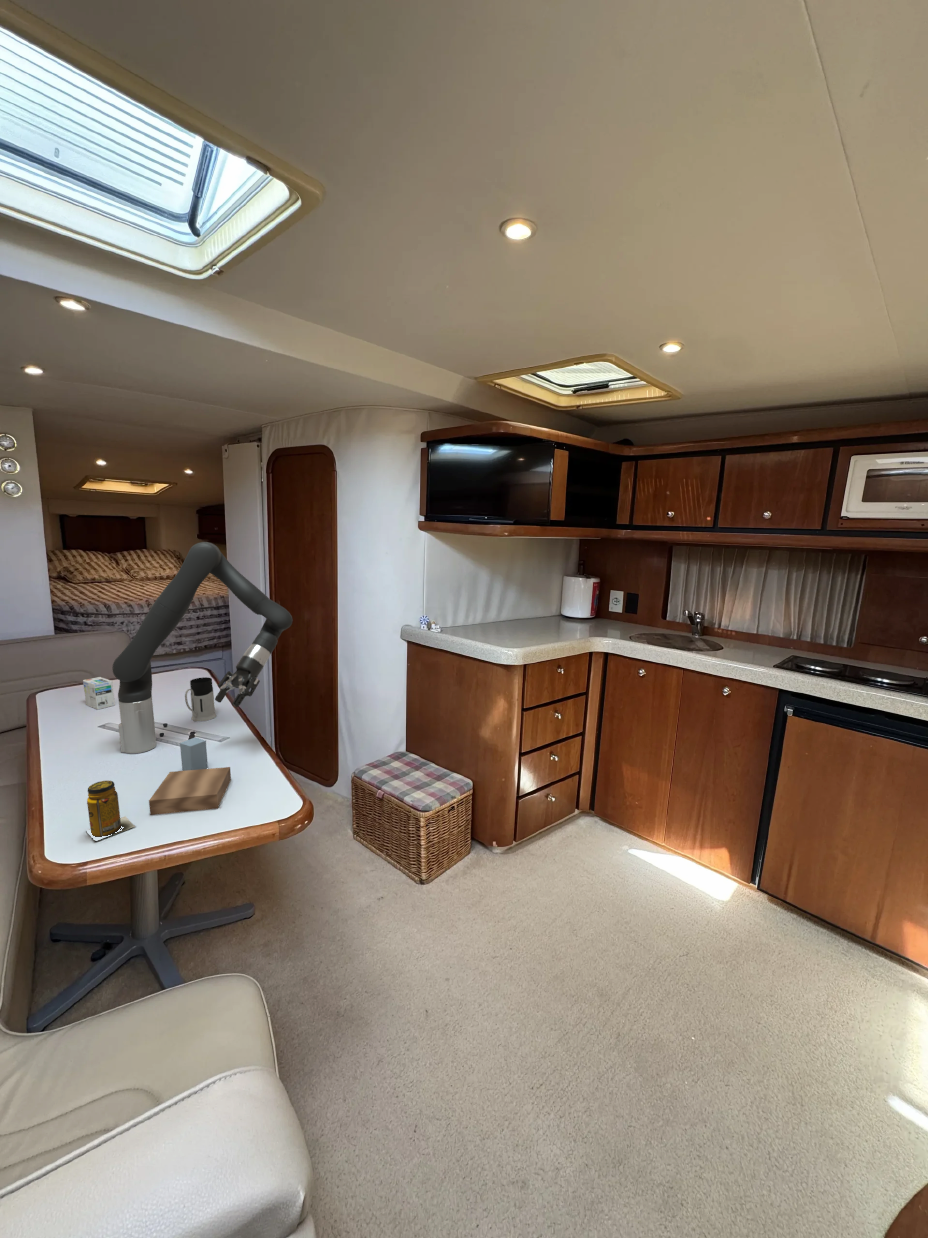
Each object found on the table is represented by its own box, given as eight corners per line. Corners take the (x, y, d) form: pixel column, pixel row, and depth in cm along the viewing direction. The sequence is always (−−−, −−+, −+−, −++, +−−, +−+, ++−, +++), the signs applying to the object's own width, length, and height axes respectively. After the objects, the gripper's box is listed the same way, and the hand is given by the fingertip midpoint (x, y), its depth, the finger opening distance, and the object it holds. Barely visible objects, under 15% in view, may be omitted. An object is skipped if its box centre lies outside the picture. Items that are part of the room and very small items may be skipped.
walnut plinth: (150, 815, 131) (148, 800, 130) (171, 785, 146) (169, 771, 146) (217, 808, 134) (216, 794, 134) (231, 779, 150) (230, 767, 149)
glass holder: (221, 713, 202) (218, 677, 200) (199, 727, 189) (196, 688, 186) (200, 712, 203) (197, 676, 201) (176, 726, 189) (173, 687, 187)
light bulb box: (115, 705, 210) (112, 680, 209) (97, 710, 205) (94, 684, 203) (103, 700, 216) (100, 676, 214) (85, 705, 210) (82, 679, 209)
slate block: (192, 775, 153) (190, 746, 151) (182, 771, 155) (179, 743, 153) (207, 768, 157) (205, 740, 155) (197, 764, 159) (195, 737, 158)
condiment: (85, 831, 124) (79, 785, 122) (125, 816, 130) (120, 773, 128) (94, 843, 119) (88, 795, 117) (135, 827, 126) (130, 782, 123)
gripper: (232, 652, 171) (203, 694, 164) (260, 657, 165) (232, 701, 157) (246, 663, 177) (219, 705, 169) (275, 669, 170) (248, 713, 162)
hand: (225, 703), depth 163 cm, fingers open, 8 cm apart
